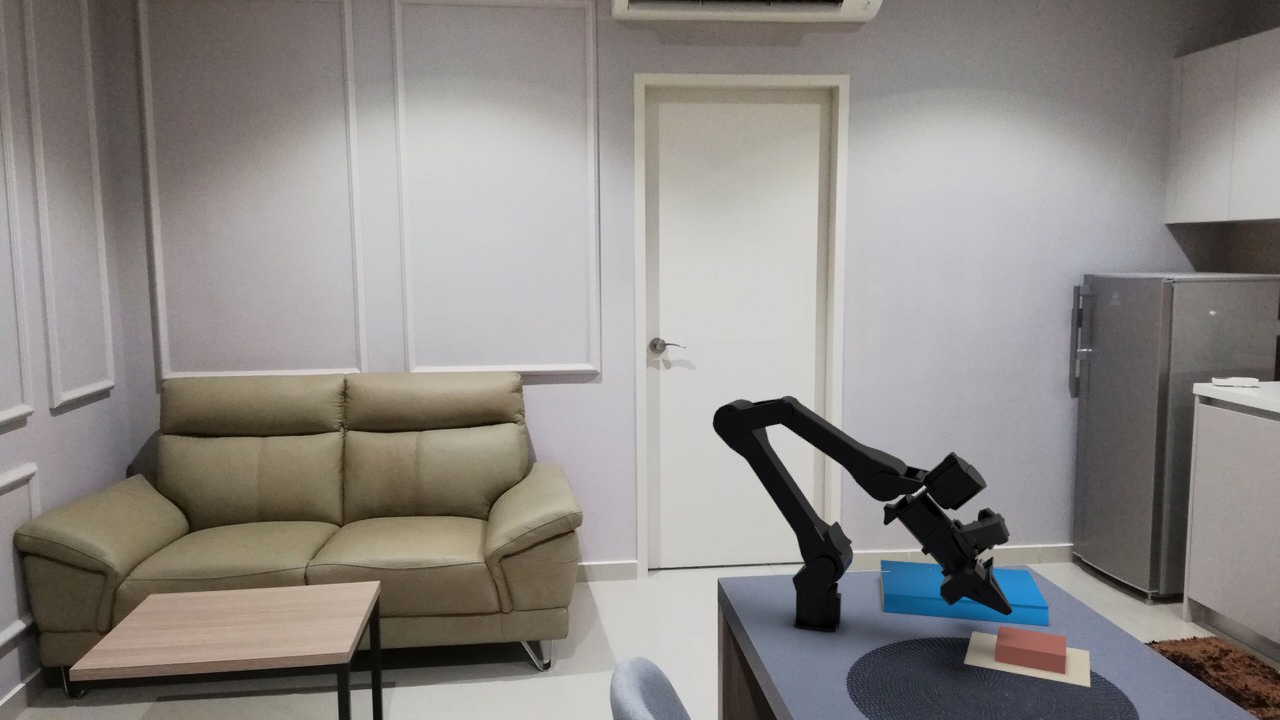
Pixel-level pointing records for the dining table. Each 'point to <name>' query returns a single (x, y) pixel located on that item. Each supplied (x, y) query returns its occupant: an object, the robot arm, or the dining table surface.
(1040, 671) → the mat
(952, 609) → the book
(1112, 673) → the dining table surface
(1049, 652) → the card box
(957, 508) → the robot arm
